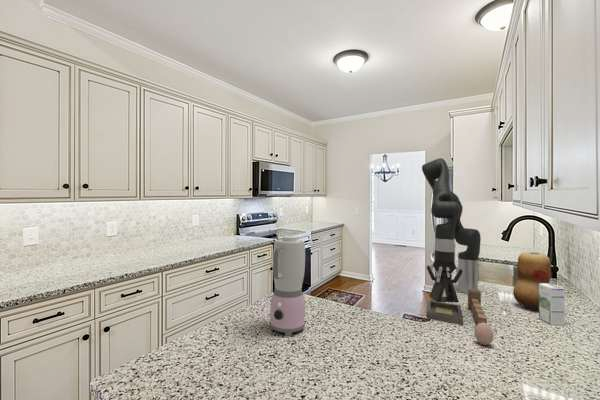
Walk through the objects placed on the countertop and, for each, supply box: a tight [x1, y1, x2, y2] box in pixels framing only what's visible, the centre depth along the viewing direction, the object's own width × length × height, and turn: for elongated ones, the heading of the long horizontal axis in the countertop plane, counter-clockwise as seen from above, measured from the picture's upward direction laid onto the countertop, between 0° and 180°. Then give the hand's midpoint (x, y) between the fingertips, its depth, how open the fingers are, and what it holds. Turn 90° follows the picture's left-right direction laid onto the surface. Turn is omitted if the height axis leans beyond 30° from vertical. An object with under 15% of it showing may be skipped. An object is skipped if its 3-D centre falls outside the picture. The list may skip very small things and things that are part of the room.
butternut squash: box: [512, 251, 552, 310], centre depth 127 cm, size 14×13×25 cm
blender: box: [269, 235, 306, 337], centre depth 99 cm, size 16×12×32 cm
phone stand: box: [429, 271, 459, 303], centre depth 117 cm, size 9×6×12 cm, turn 91°
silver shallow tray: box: [426, 299, 464, 326], centre depth 117 cm, size 15×12×3 cm
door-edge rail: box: [467, 289, 488, 326], centre depth 113 cm, size 28×4×8 cm, turn 154°
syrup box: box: [538, 282, 566, 326], centre depth 112 cm, size 6×6×14 cm
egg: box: [474, 323, 494, 346], centre depth 92 cm, size 5×5×7 cm
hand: (443, 291), depth 117 cm, fingers closed on phone stand, 3 cm apart
